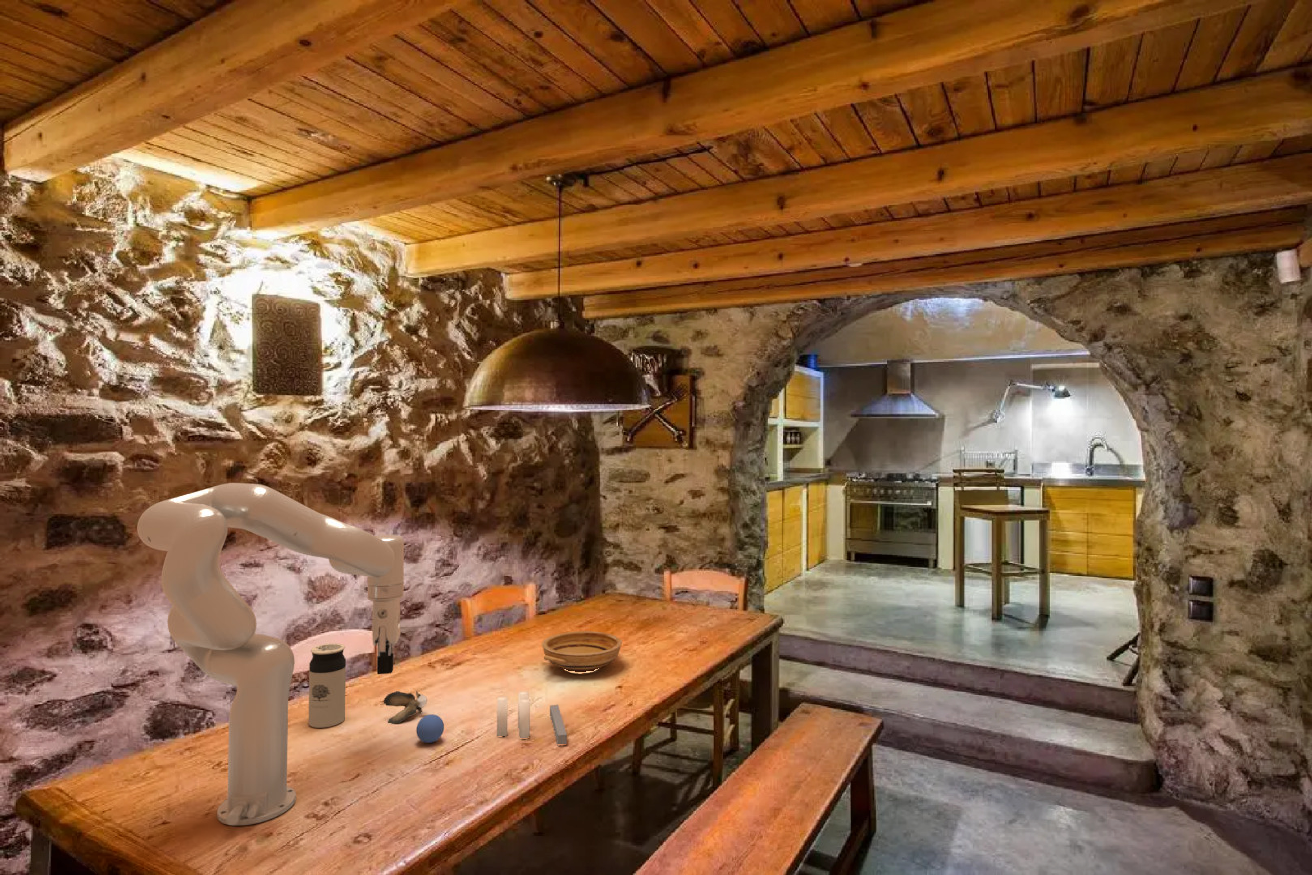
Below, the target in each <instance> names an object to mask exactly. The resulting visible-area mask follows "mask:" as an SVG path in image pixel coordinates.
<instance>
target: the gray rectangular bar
mask: <svg viewBox="0 0 1312 875" xmlns="http://www.w3.org/2000/svg"><path fill="white" fill-rule="evenodd" d="M560 710H561V709H560V707H559V704H551V705H549V716H551V718H550V721H551V720H552V722H551V724H552V723H553V726H552V728H553V727H554V729H553V732H554V731H555V733H554V737H555V736H556V737H555V741H556V740H557V741H556V744H567V743H568V734H567V733H568V732H567V731H566V726H565V723H564V721H563V720H564V719H563V717H562V713H561V711H560Z"/></svg>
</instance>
